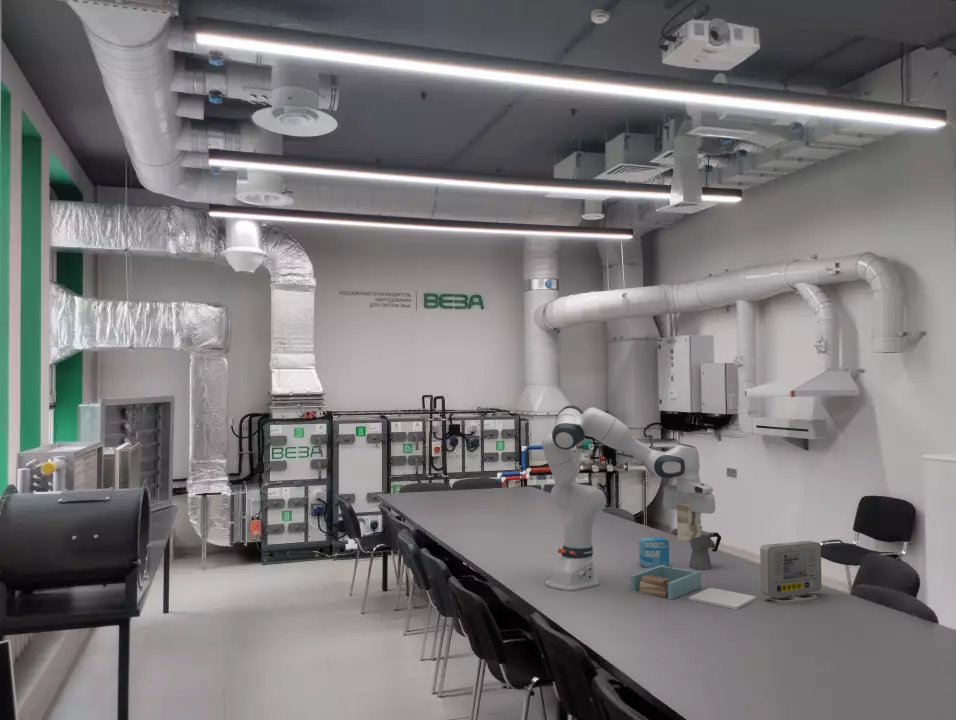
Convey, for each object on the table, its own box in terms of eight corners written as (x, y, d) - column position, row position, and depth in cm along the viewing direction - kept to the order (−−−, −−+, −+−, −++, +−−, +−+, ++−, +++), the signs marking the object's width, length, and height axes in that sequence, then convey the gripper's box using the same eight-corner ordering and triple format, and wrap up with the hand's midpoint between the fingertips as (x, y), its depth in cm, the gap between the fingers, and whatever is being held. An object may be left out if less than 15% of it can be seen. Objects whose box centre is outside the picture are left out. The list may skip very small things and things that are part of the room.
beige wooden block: (687, 540, 269) (686, 505, 270) (677, 539, 272) (676, 504, 272) (700, 535, 277) (700, 502, 278) (691, 534, 280) (690, 501, 280)
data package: (643, 568, 313) (643, 540, 314) (639, 565, 317) (639, 538, 318) (669, 567, 315) (669, 539, 315) (665, 564, 319) (664, 537, 320)
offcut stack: (665, 598, 267) (665, 581, 267) (638, 592, 274) (638, 576, 275) (672, 595, 271) (671, 579, 271) (645, 589, 278) (645, 574, 278)
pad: (736, 610, 252) (736, 607, 252) (688, 599, 264) (688, 597, 265) (756, 599, 266) (756, 596, 266) (710, 590, 278) (710, 587, 278)
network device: (809, 591, 276) (808, 539, 277) (827, 597, 268) (826, 543, 269) (756, 598, 267) (755, 544, 268) (774, 604, 259) (773, 548, 260)
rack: (671, 600, 264) (671, 583, 265) (631, 591, 276) (630, 575, 276) (700, 587, 282) (700, 571, 282) (661, 579, 293) (661, 564, 294)
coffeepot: (684, 569, 311) (683, 527, 312) (685, 564, 320) (684, 523, 321) (721, 571, 307) (721, 529, 307) (721, 566, 316) (720, 525, 316)
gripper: (659, 485, 280) (660, 520, 279) (709, 489, 266) (710, 527, 265) (667, 483, 284) (668, 518, 284) (716, 487, 270) (717, 524, 270)
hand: (689, 522), depth 275 cm, fingers closed on beige wooden block, 4 cm apart
